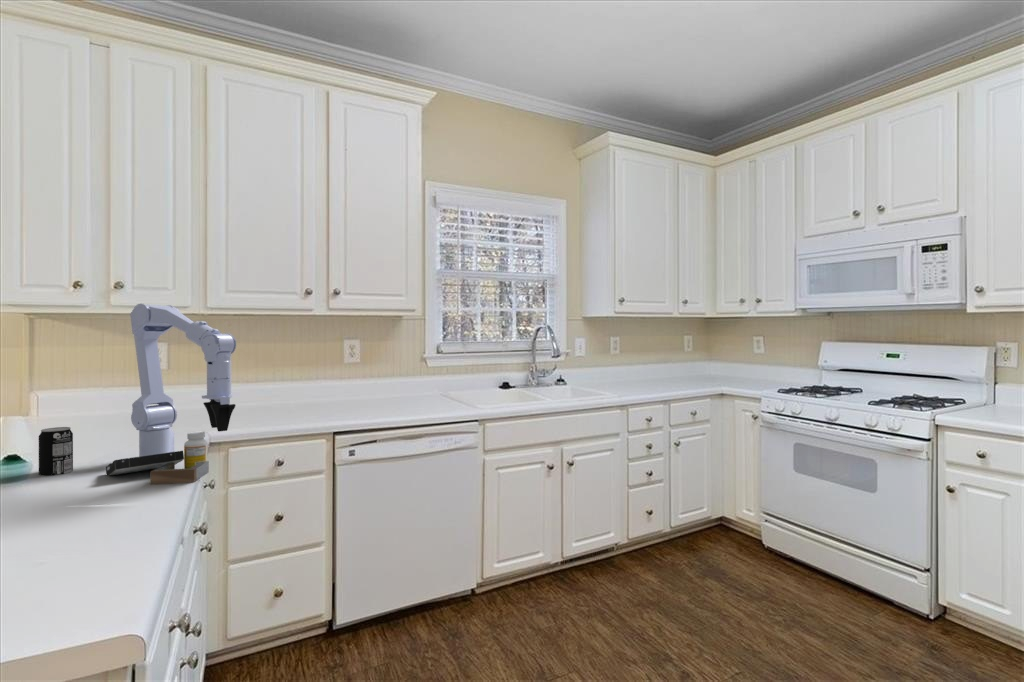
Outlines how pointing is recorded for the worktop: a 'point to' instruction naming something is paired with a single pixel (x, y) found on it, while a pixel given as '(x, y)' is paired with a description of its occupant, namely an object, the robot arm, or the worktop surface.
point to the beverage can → (55, 451)
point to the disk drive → (143, 463)
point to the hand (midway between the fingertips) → (219, 429)
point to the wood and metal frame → (178, 473)
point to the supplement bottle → (195, 449)
